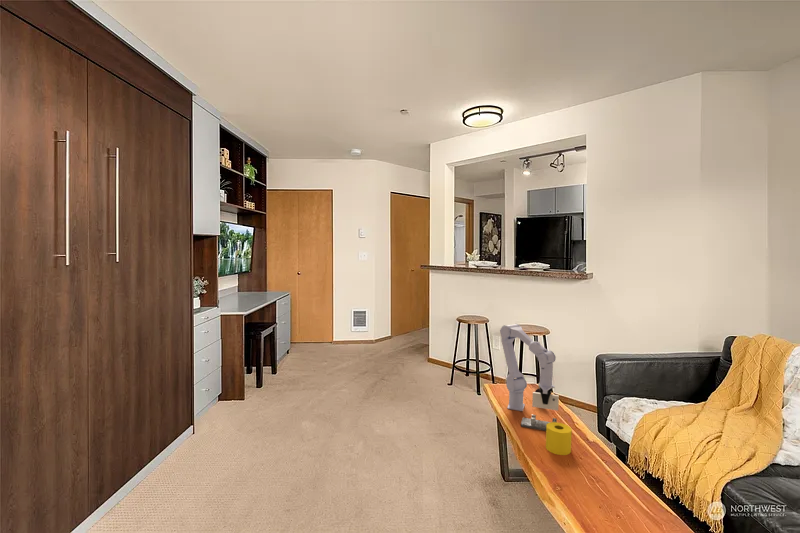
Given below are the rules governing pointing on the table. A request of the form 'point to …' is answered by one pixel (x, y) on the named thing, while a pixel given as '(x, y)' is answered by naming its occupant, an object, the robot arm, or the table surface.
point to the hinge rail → (535, 423)
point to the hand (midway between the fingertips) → (545, 403)
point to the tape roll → (558, 438)
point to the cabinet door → (551, 404)
